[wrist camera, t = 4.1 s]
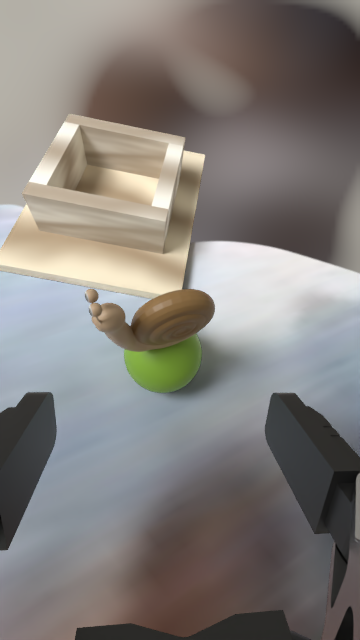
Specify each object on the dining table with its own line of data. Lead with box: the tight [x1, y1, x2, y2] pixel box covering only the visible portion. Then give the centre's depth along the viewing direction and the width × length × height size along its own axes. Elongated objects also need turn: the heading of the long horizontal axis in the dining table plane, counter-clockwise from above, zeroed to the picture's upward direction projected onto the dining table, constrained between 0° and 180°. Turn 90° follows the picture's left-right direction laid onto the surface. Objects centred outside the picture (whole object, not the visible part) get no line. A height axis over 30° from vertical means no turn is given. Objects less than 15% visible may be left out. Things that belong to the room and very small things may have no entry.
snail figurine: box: [85, 289, 215, 393], centre depth 17 cm, size 5×6×12 cm
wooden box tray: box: [0, 114, 205, 299], centre depth 27 cm, size 20×16×5 cm
